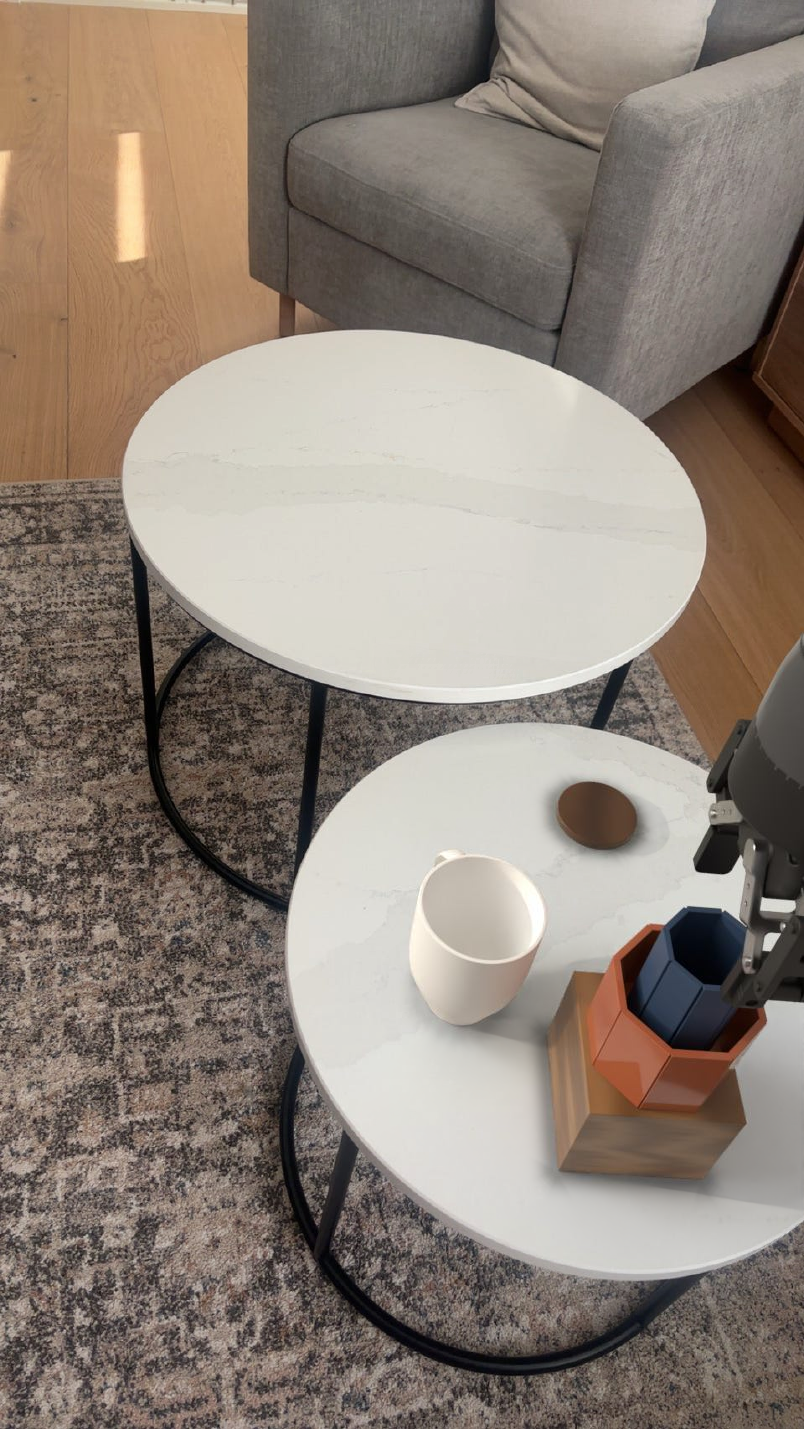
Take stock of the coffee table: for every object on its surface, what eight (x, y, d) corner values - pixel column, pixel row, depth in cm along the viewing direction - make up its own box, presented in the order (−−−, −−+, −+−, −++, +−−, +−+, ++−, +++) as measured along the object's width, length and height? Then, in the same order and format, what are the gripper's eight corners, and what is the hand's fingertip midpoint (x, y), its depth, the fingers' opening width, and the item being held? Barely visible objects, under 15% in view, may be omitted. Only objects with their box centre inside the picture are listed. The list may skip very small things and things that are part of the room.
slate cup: (694, 1003, 73) (750, 910, 65) (709, 1083, 69) (771, 994, 61) (611, 997, 72) (658, 903, 64) (622, 1077, 68) (673, 987, 60)
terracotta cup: (711, 986, 74) (746, 930, 69) (737, 1115, 68) (778, 1063, 63) (581, 977, 74) (607, 919, 69) (596, 1106, 67) (625, 1053, 62)
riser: (678, 1043, 81) (717, 980, 75) (702, 1179, 74) (747, 1123, 68) (546, 1033, 80) (573, 970, 74) (557, 1170, 73) (589, 1113, 67)
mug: (531, 1037, 80) (567, 950, 71) (417, 1061, 78) (440, 973, 69) (482, 905, 88) (509, 812, 79) (376, 924, 85) (392, 829, 77)
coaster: (629, 790, 98) (631, 784, 98) (640, 853, 93) (642, 847, 93) (552, 783, 98) (554, 778, 97) (559, 846, 93) (561, 840, 92)
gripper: (972, 871, 45) (819, 1053, 57) (874, 639, 55) (761, 835, 67) (796, 856, 44) (678, 1043, 56) (729, 625, 54) (640, 825, 66)
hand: (723, 930), depth 61 cm, fingers open, 8 cm apart
